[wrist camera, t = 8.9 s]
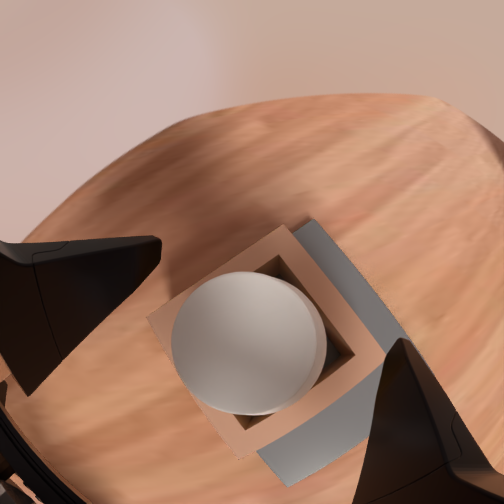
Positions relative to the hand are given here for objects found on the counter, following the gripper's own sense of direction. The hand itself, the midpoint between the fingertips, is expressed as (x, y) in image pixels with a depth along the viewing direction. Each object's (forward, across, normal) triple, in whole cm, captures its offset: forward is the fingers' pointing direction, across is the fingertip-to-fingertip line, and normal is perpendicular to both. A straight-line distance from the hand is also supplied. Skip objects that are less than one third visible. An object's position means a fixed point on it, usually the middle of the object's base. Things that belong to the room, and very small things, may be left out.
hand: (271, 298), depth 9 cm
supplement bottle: (+5, 0, +7) cm, 8 cm away
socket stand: (+6, -2, +7) cm, 9 cm away
